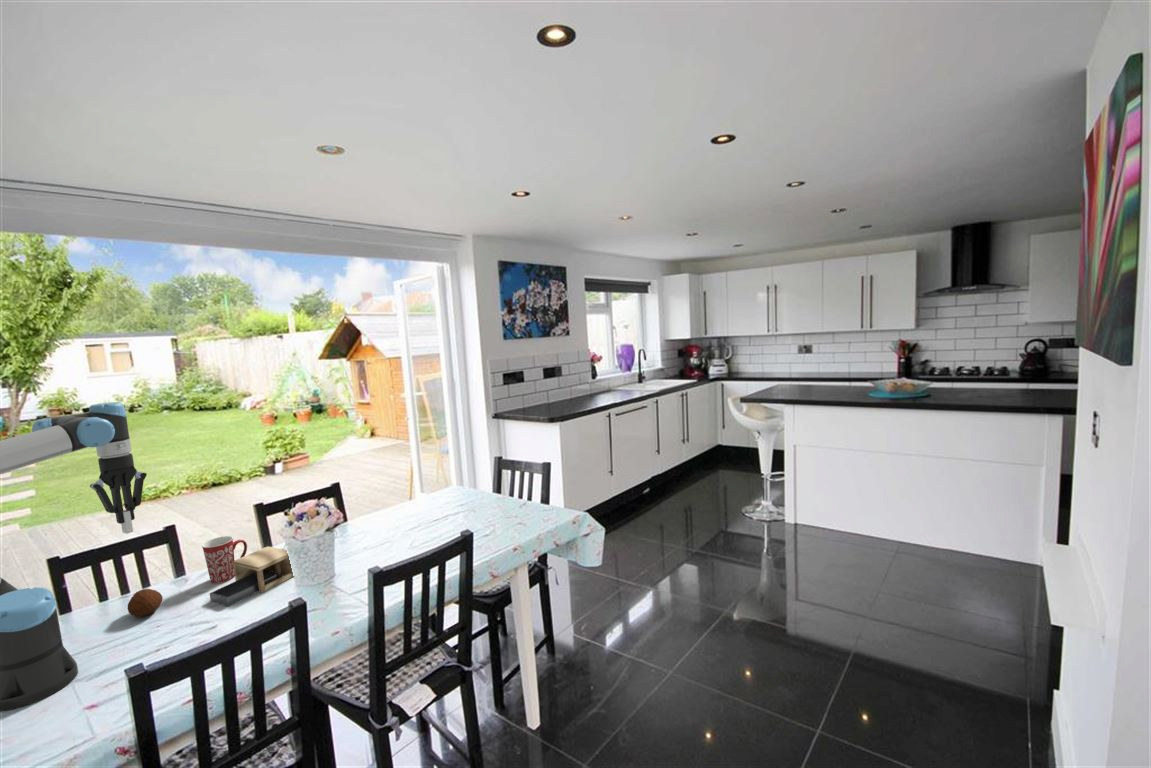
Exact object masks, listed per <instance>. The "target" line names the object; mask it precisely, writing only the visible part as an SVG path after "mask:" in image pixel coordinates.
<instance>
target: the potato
mask: <svg viewBox="0 0 1151 768" xmlns="http://www.w3.org/2000/svg"><path fill="white" fill-rule="evenodd" d="M163 600H164V599H163V595H162V594H161V592H159V591H157V590H156V589H151V588H143V589H139V590H138V591H136V592H134V593H133V595H132V596H131V597H130V599H129V601H128V605H127V611H128V613H129V614H130V615H131V616H134V617H137V618H139V617H145V616H147V615H151V614H153V613H154V612H156V610H158V608H160V606H161V604H162V602H163Z"/></svg>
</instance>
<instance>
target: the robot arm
mask: <svg viewBox="0 0 1151 768" xmlns="http://www.w3.org/2000/svg"><path fill="white" fill-rule="evenodd" d="M86 448H96V457H99V458H98V459H97V461H98V462H97V463H98V466H99V467H98V468H99V472H100V474H99V477H98V480H97V481H96V482H94V483H91V484H90V485H89V487H90V488H91V489H92V490H93V491H95V493H96V494H97V497H98V498H99V500H100V502H101V504H102V506H103V508H104V509H105V511H106V513H109V514H115V519H116V522H117V524H120V525H121V531H122V534H131V533H133V532H134V527H133V522H132V521H134V520H135V518H136V517H135V509H136V507H139V506H141V504H142V496H143V490H144V488H143V487H144V481H145V479H146V478H147V474H148V473H146V472H143V471H138V470H137V468H136V467H135V462H134V456H133V453H132V445H131V438H130V433H129V426H128V416H127V412H126V408H125V406H124V404H123V403H122V402H118V401H116V402H115V401H112V402H111V401H110V402H102V403H95V404H91V405H90V406H89V409H88V411H87V412H86V413H85V412H84V413H79V414H72V415H71V414H70V415H64V416H58V417H57V416H56V417H48V418H44V419H38V420H36V421H34V423H33V424H32V427H31V432H27V433H24V434H20V435H16V436H12V437H10V438H4V439H2V440H0V475H3V474H6V473H10V472H12V471H13V472H14V471H16V470H19V469H22V468H25V467H28V466H30V465H35V464H38V463H40V462H41V463H42V462H44V461H48V460H50V459H54V458H56V457H60V456H63V455H66V454H69V453H72V452H76V451H81V450H83V449H86ZM133 479H134V483H133V490H132V481H133ZM104 484H105V485H106V486H108V487H109V491H110V493H111V499H110V497H109V495H108V493H107V491H106V490H105V488H104V487H105V486H104ZM121 492H122V493H121ZM122 497H123V498H122ZM122 499H123V500H122ZM111 500H112V501H111ZM78 674H79V669H78V664H77V662H76V660H75V658H73V656H72V655H71V654H70V653H69V651H68V650H67V649H66V647H64V643H63V639H62V633H61V627H60V620H59V616H58V610H57V601H56V599H55V597H54V594H53V592H52V591H51V590H49V589H48V588H44V587H37V586H36V587H32V588H30V587H25V588H19V589H18V588H17V587H16V586H14V585H12V584H11V583H9V582H8V581H6V580H5V579H4V578H3V577H1V576H0V712H2V711H9V710H14V709H18V708H21V707H25V706H29V705H30V704H33V703H36V702H38V701H41V700H43V699H45V698H47V697H49V696H51V695H53V694H55V693H56V692H59V691H60V690H62V689H63V688H65V687H66V686H67V685H69V684H70V683H71V682H72V681H74V680H75V679H76V677H77V676H78Z"/></svg>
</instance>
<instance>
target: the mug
mask: <svg viewBox="0 0 1151 768" xmlns="http://www.w3.org/2000/svg"><path fill="white" fill-rule="evenodd" d="M233 540H234V537H233V536H232V535H225V536H224V535H223V536H219V537H213V538H212V539H208V540H207V541H204V542H203V543H202V544H201V548H202V551H203V555H204V560H205V562H206V567H207V571H208V576H209V580H210V583H212V584H221V583H225V582H227V581H230V580H232V579H234V578H235V573H234V566H233V561H235V560H236V559H235V552H234V551H235V549H236V547H237V545H238V544H239V543H242V544H243V551H242V553H241V555H240V557H239V558H242V557H244V556H246V555H247V551H248V544H247V542H246V541H245V540H244V539H237V540H235V541H233Z"/></svg>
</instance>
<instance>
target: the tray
mask: <svg viewBox="0 0 1151 768" xmlns="http://www.w3.org/2000/svg"><path fill="white" fill-rule="evenodd" d="M263 577H264V585H266V584H268V583H270V582H272V581H274V580H276V579H277V575H276V573H273V572H270V573H269V572H265V571H263ZM258 592H259V586H258V578H257V572H254V573H252V574H250V575H248V576H246V577H244V578H242V579H239V580H237V581H236V580H235V581H232V582H231V583H229V584H226V585H224V586H223V587H220V588H218V589H216V590H214V591H211V592H209V599H210V602H211V603H214V604H218V605H220V606H223V607H231V606H232V605H235V604H237V603H239V602H241V601H243V600H245V599H247V598H248V597H251V596H253V595H255V594H257V593H258ZM259 593H260V592H259Z"/></svg>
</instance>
